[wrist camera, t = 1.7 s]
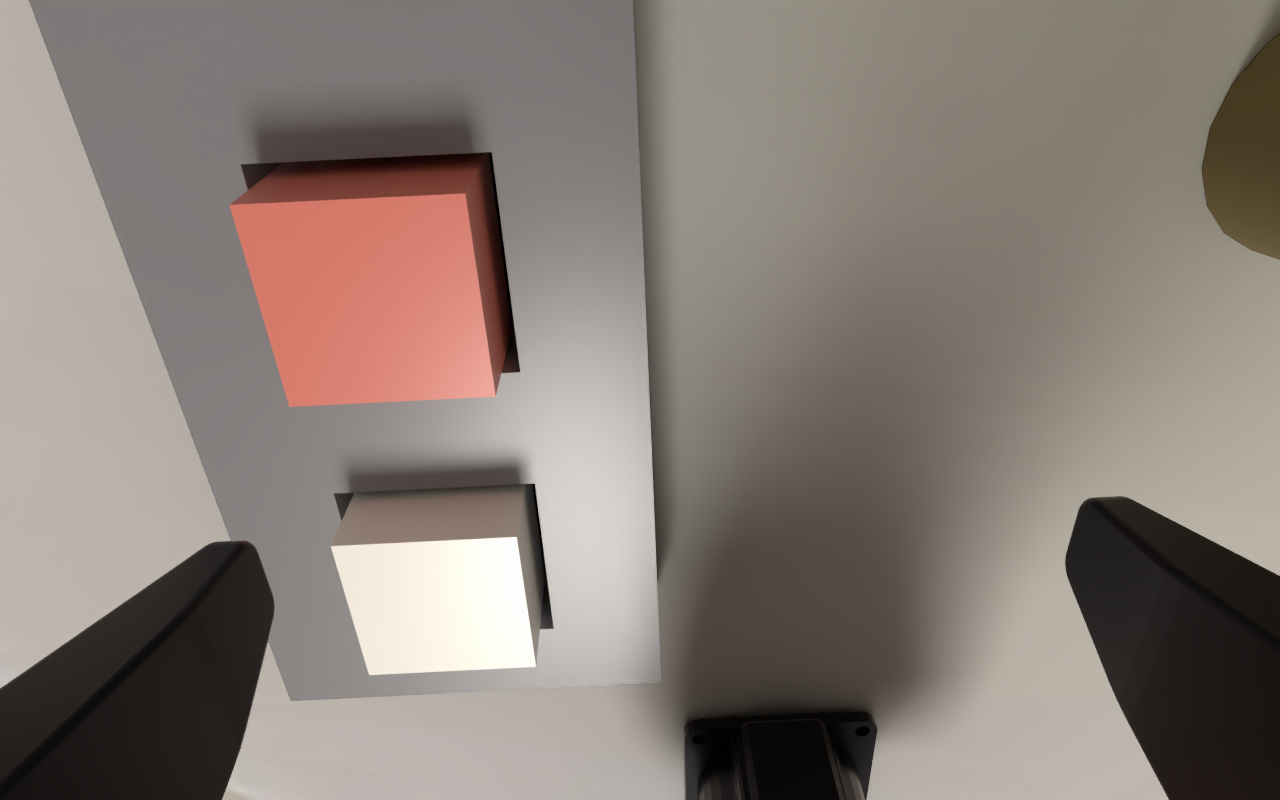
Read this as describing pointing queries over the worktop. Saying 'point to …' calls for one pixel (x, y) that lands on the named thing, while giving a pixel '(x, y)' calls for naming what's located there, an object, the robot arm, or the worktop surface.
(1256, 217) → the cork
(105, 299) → the worktop surface
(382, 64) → the button panel
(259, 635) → the robot arm
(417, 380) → the red button
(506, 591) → the button
